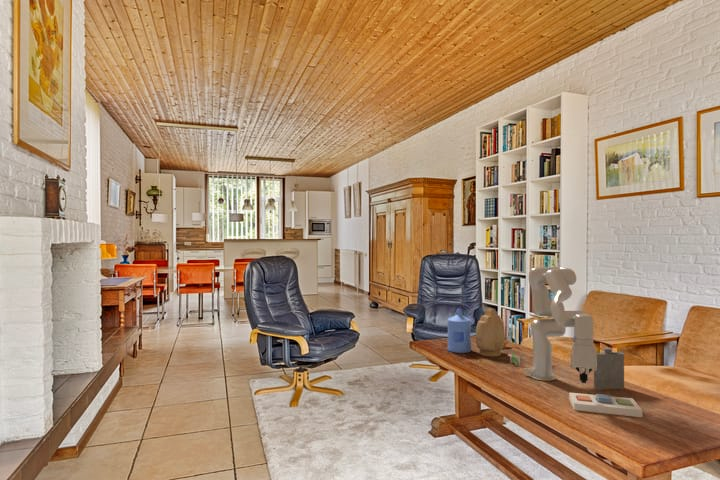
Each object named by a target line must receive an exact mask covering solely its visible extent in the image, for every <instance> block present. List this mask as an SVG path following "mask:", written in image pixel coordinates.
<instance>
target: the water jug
mask: <svg viewBox="0 0 720 480" xmlns="http://www.w3.org/2000/svg"><path fill="white" fill-rule="evenodd" d="M462 309H463V308H456V315H454V316H453V315H452V316H451V317H449V318H447V325H446V326H447V334H446V336H447V350H448V351H449V352H450V353H456V354H466V353H470V352H471V351H472V340H471V331H472V321H471V319H470V318H468V317H466V316H464V315H463V314H462Z"/></svg>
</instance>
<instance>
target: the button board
mask: <svg viewBox="0 0 720 480" xmlns="http://www.w3.org/2000/svg"><path fill="white" fill-rule="evenodd" d="M568 395H569V396H568V398H569V402H570V404H571V406H572V407H573V411H581V412H588V413H589V412H590V413H597V414H606V415H617V416H627V417H635V418H644V417H643V416H644V415H643V409H642V408H641V406H639V404H638V403H637V402H636V401H635V400H634V398H632V397H620V396H610V395H609V396H610V397H611V399H612V404H607V403H598V402H597V400H596V394H592V393H591V394H588V393H580V392H579V393H577V392H569V393H568ZM577 395H583V396H589V397H590V398H591V402H587V401H578V400H577ZM616 399H625V400H630V401H631V402H632V404H633V406H627V405H618V403H617V402H616Z"/></svg>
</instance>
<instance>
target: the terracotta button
mask: <svg viewBox="0 0 720 480" xmlns="http://www.w3.org/2000/svg"><path fill="white" fill-rule="evenodd" d="M577 400H578V401H587V402H591V398H590V397H589V396H583V395H577Z"/></svg>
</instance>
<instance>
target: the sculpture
mask: <svg viewBox="0 0 720 480" xmlns="http://www.w3.org/2000/svg"><path fill="white" fill-rule="evenodd" d="M496 311H497V310H496V308H490V307H486V308H485V310H484V314H482V315H481V316H480V317H479V320H478V321H477V323H476V330H475V341H476V343H475V344H476V346H477V348H478V349H479V351H478V354H479V355H480V356H481V355H482V356H484V357H499V356H501V355H502V353H501V351H502V350H503V349H504V348H503V347H504V342H505V338H506V336H505V335H506V333H505V323H504V320H503V319H502V318H501V316H500V315H499V314H497V312H496Z"/></svg>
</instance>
